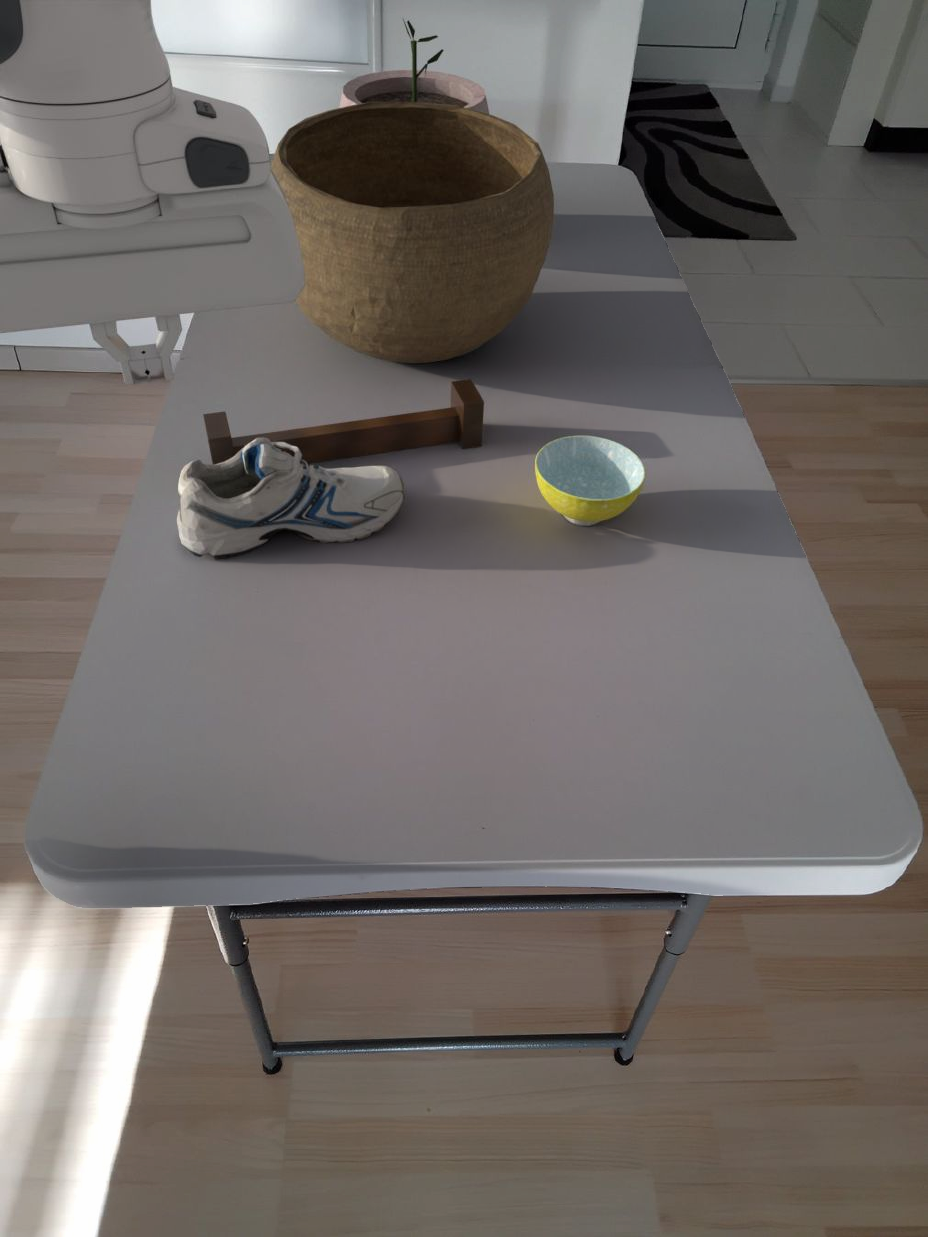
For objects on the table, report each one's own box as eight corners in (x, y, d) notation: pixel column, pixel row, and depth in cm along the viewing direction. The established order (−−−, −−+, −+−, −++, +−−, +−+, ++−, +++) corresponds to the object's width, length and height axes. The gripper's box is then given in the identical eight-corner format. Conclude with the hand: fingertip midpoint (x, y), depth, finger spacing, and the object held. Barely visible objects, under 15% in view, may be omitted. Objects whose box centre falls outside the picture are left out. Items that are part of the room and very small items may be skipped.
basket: (530, 280, 139) (557, 102, 120) (534, 423, 116) (569, 231, 97) (295, 256, 137) (286, 72, 119) (252, 396, 114) (232, 196, 95)
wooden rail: (216, 485, 100) (207, 439, 96) (211, 459, 104) (202, 413, 99) (481, 446, 107) (484, 401, 103) (468, 423, 111) (470, 378, 106)
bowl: (609, 473, 104) (617, 427, 100) (653, 537, 97) (664, 489, 92) (515, 489, 102) (519, 442, 97) (553, 555, 94) (559, 508, 90)
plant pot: (484, 270, 140) (495, 44, 119) (328, 260, 141) (311, 34, 119) (492, 208, 157) (504, 1, 136) (353, 199, 158) (342, -8, 136)
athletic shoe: (417, 527, 96) (404, 418, 89) (198, 589, 89) (166, 475, 82) (384, 493, 104) (369, 390, 97) (180, 547, 97) (149, 440, 90)
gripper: (-138, 177, 43) (-34, 428, 53) (298, 147, 48) (318, 383, 58) (-120, 132, 47) (-27, 372, 57) (278, 109, 52) (301, 335, 62)
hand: (149, 378), depth 57 cm, fingers closed
